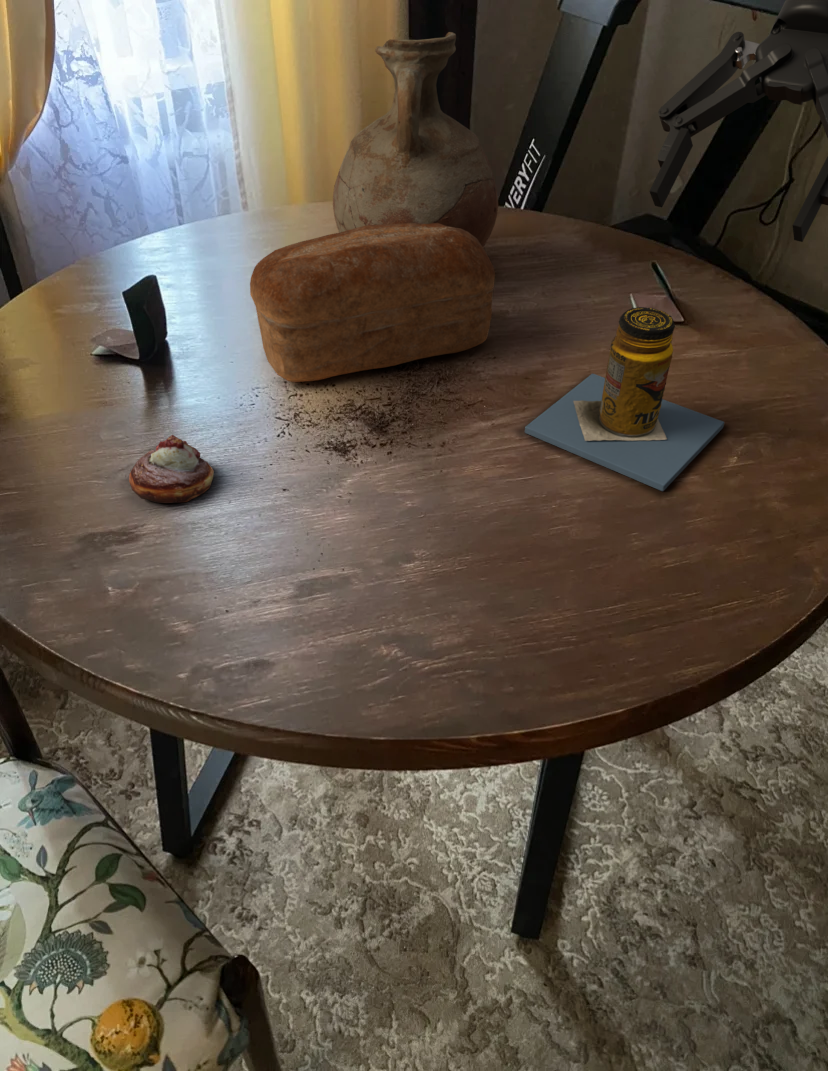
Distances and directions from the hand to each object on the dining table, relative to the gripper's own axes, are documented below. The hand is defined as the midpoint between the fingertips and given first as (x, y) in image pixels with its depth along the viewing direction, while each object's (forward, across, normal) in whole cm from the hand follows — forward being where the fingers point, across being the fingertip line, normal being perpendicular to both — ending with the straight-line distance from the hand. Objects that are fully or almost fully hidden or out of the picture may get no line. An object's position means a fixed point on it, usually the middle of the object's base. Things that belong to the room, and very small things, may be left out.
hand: (723, 216), depth 77 cm
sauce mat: (+20, +3, -11) cm, 23 cm away
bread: (+22, +35, -8) cm, 42 cm away
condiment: (+19, +4, -11) cm, 22 cm away
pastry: (+45, +33, +14) cm, 58 cm away
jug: (+9, +44, -22) cm, 49 cm away
